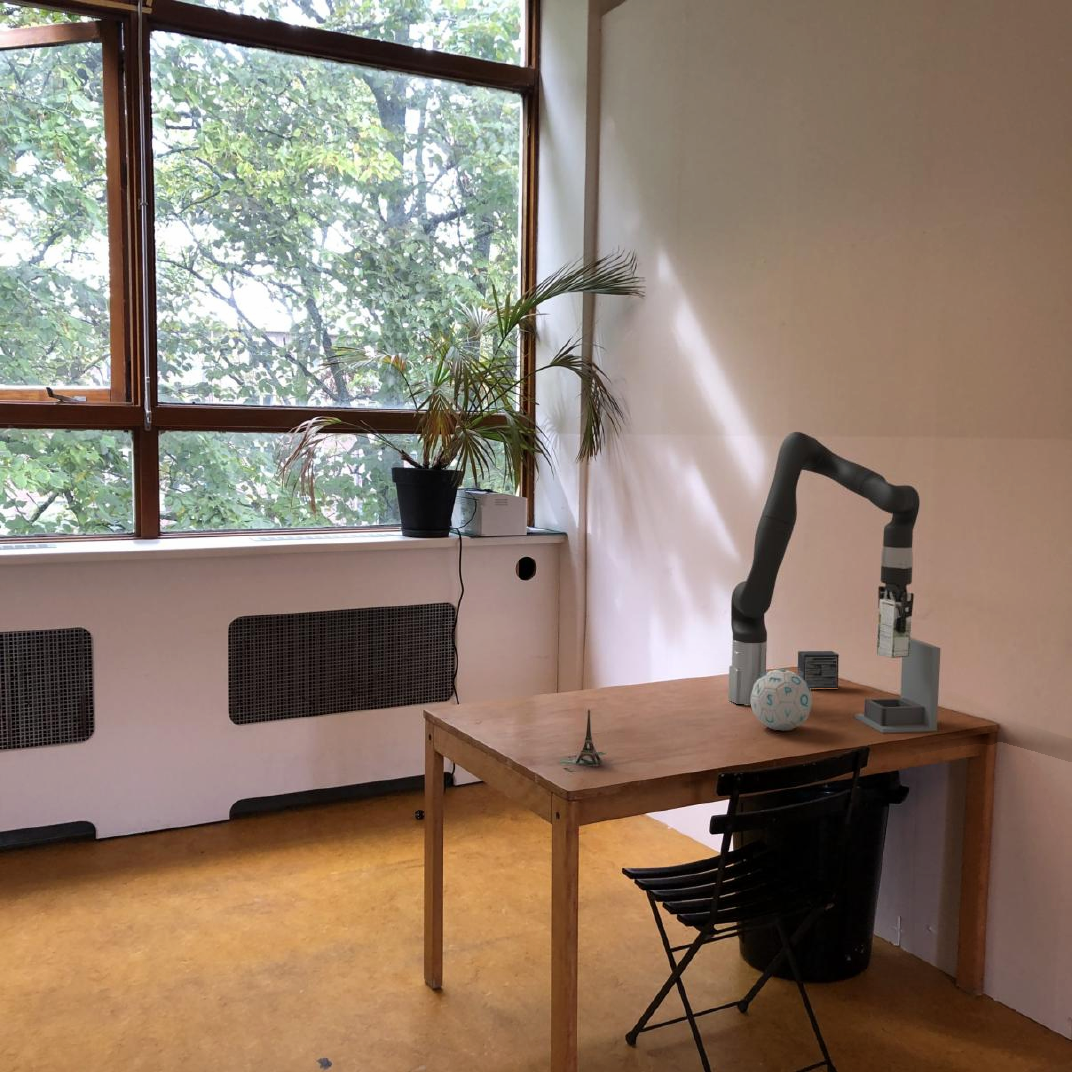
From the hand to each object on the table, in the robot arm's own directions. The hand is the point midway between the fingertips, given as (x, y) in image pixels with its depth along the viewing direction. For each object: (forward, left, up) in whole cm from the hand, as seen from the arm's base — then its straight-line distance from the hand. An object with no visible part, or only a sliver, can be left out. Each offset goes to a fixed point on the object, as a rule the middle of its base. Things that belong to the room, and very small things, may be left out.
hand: (894, 630), depth 276 cm
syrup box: (0, 0, -7) cm, 7 cm away
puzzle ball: (-30, -1, -25) cm, 39 cm away
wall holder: (+1, 0, -24) cm, 24 cm away
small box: (-1, +42, -25) cm, 49 cm away
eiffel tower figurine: (-84, -22, -25) cm, 90 cm away
